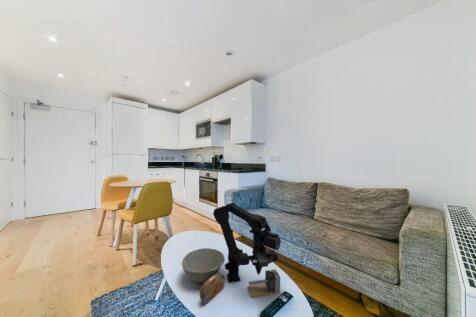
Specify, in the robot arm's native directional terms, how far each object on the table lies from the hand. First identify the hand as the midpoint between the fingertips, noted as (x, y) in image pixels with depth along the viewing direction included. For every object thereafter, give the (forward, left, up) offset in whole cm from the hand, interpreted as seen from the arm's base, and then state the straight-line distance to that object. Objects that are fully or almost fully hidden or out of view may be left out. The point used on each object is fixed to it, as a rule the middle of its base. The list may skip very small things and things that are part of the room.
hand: (258, 274), depth 91 cm
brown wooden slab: (-2, -22, -9) cm, 24 cm away
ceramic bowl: (-16, -26, -9) cm, 32 cm away
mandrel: (0, +3, -9) cm, 9 cm away
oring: (0, +6, -7) cm, 10 cm away
